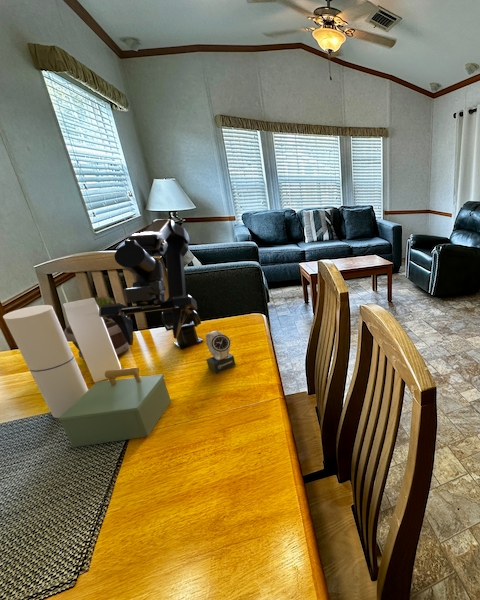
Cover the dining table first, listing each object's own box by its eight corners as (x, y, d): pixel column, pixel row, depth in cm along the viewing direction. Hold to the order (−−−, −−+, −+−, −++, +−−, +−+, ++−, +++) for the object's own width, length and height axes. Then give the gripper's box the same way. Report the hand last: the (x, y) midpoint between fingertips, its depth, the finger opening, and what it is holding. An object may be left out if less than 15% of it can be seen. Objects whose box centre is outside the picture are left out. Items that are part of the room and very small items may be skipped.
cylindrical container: (68, 419, 74) (20, 320, 65) (43, 415, 75) (-7, 317, 66) (100, 399, 80) (61, 306, 71) (77, 396, 82) (36, 303, 72)
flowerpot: (63, 372, 92) (33, 306, 84) (94, 345, 105) (70, 287, 98) (124, 363, 95) (101, 300, 88) (146, 339, 109) (127, 282, 102)
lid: (98, 384, 75) (91, 368, 73) (164, 376, 78) (159, 361, 76) (59, 421, 64) (50, 403, 62) (138, 410, 67) (131, 393, 65)
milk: (122, 374, 90) (95, 300, 82) (93, 383, 87) (61, 307, 78) (120, 365, 95) (94, 294, 86) (93, 373, 91) (62, 300, 83)
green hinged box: (107, 409, 77) (97, 385, 74) (171, 401, 80) (163, 377, 77) (72, 447, 66) (59, 421, 64) (148, 436, 69) (138, 410, 67)
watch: (219, 376, 89) (210, 341, 85) (205, 366, 94) (196, 332, 89) (239, 367, 93) (231, 332, 89) (225, 358, 98) (217, 325, 94)
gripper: (83, 275, 72) (85, 344, 69) (181, 266, 78) (187, 329, 75) (110, 289, 82) (113, 350, 79) (195, 280, 88) (200, 336, 85)
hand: (153, 341), depth 79 cm, fingers open, 9 cm apart
